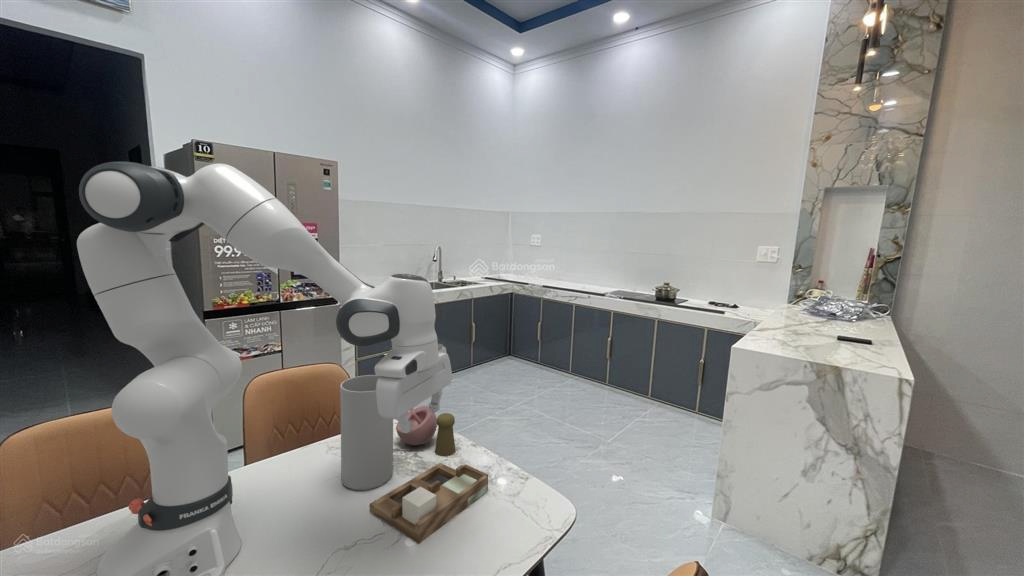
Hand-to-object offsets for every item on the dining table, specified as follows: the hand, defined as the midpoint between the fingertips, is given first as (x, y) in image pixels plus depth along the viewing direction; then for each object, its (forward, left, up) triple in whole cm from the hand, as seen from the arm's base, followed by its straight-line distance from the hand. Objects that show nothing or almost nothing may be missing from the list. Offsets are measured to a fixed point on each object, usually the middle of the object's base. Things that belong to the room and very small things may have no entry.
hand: (421, 420), depth 83 cm
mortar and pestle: (+26, +30, -25) cm, 46 cm away
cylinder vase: (+6, +26, -25) cm, 36 cm away
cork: (+28, +20, -25) cm, 42 cm away
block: (+2, +2, -23) cm, 23 cm away
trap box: (+9, +6, -25) cm, 27 cm away
